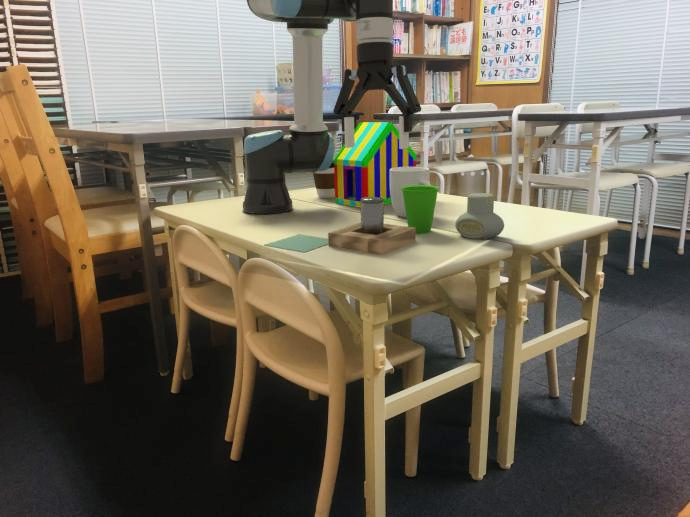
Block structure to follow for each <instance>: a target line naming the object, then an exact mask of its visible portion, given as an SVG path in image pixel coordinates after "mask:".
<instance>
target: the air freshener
mask: <svg viewBox="0 0 690 517" xmlns="http://www.w3.org/2000/svg"><path fill="white" fill-rule="evenodd" d="M466 202H467V203H466V204H467V205H466V212H464V213H462V214H461V215H459V216H458V218H457V219H456V220H455V224H454V226H455V229H456V231H457V232H458V233H459V234H460V235H461V236H462V237H464V238H466V239H467V238H468V239H470V240H471V239H472V240H490V239H491V240H492V239H494V238H496V237H498V236H499V235H500V234H502V232H503V230H504V228H505V222H504V219H503V218H502V217H501V216H500V215H498V214H497V213H495V212H494V211H495V210H494V209H495V206H494V204H495V195H493V194H492V193H488V192H485V193H484V192H473V193H470V194H468V195H467V201H466Z"/></svg>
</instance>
